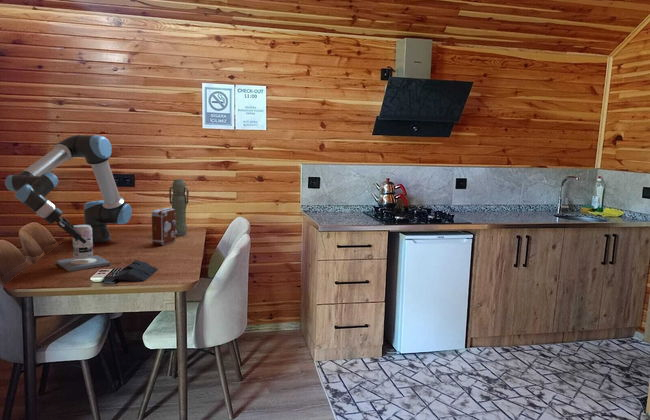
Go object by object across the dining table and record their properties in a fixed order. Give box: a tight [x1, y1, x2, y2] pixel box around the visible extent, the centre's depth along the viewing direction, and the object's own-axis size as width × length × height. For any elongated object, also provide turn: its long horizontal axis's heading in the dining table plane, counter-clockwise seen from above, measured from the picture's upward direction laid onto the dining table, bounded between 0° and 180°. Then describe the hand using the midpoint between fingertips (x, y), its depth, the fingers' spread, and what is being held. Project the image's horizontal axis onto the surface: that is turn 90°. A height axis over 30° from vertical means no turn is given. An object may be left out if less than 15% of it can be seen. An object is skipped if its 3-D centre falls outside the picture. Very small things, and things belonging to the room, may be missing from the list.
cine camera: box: [151, 207, 177, 246], centre depth 275 cm, size 9×19×20 cm, turn 166°
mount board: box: [56, 254, 111, 272], centre depth 223 cm, size 18×18×2 cm
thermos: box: [168, 178, 190, 237], centre depth 297 cm, size 9×12×35 cm
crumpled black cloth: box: [114, 259, 159, 283], centre depth 208 cm, size 15×22×5 cm
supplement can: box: [72, 224, 94, 259], centre depth 221 cm, size 8×8×15 cm
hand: (90, 244), depth 223 cm, fingers closed on supplement can, 8 cm apart
